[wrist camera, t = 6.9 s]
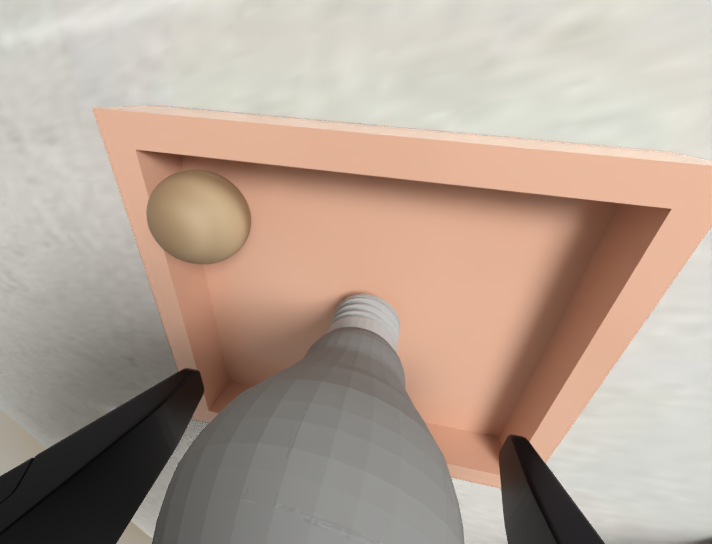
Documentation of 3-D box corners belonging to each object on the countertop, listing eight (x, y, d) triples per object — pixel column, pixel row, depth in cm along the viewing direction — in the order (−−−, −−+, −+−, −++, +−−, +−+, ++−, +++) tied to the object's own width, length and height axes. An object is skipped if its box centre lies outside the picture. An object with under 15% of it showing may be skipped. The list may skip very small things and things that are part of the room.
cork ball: (262, 166, 10) (209, 189, 8) (269, 247, 12) (227, 288, 9) (180, 157, 11) (104, 176, 8) (197, 236, 12) (138, 273, 10)
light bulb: (273, 271, 12) (-64, 657, 4) (417, 226, 10) (368, 865, 2) (335, 376, 15) (208, 758, 6) (463, 356, 13) (536, 901, 4)
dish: (671, 152, 9) (751, 169, 6) (510, 441, 16) (524, 493, 14) (156, 105, 10) (92, 107, 8) (220, 382, 18) (193, 419, 16)
